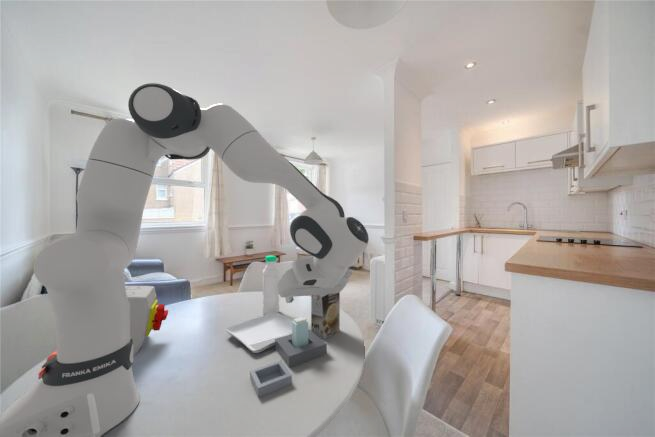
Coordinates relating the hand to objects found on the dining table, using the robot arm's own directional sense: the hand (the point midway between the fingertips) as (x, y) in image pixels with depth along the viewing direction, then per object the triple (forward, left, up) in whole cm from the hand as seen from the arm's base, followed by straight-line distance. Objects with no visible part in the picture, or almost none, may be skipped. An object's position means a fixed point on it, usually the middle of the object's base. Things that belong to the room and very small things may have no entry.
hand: (302, 299), depth 69 cm
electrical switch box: (-42, +37, -18) cm, 59 cm away
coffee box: (+15, +11, -18) cm, 26 cm away
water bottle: (+4, +39, -18) cm, 43 cm away
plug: (+1, +3, -18) cm, 18 cm away
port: (+1, +3, -18) cm, 18 cm away
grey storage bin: (-11, -5, -18) cm, 22 cm away
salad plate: (-4, +20, -18) cm, 28 cm away
